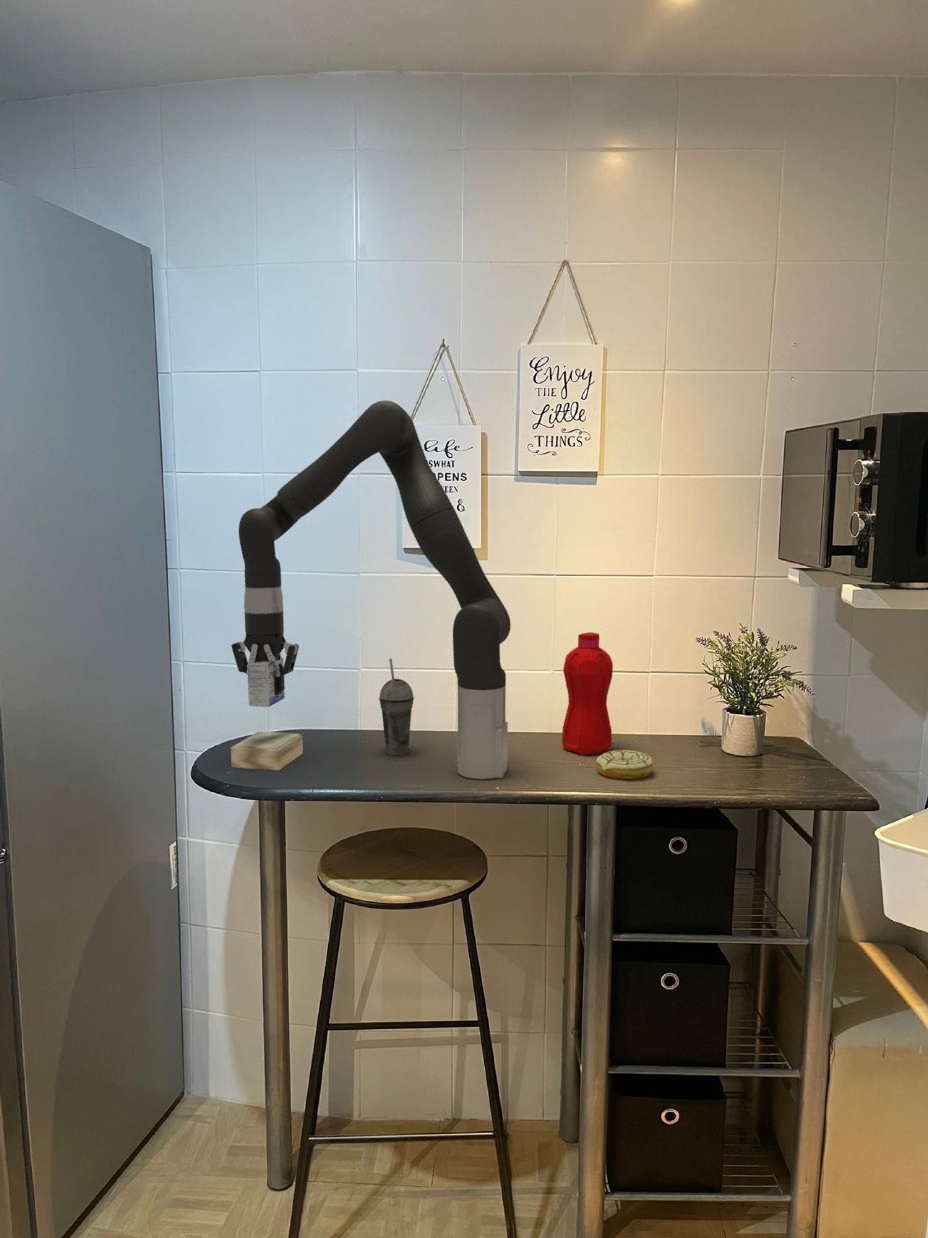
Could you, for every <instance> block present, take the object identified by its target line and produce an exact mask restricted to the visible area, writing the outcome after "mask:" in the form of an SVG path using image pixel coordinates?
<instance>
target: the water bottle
mask: <svg viewBox="0 0 928 1238" xmlns="http://www.w3.org/2000/svg"><path fill="white" fill-rule="evenodd" d="M613 667H614V664H613V660H612V658H611V655H610V654H609V653H608V652H607V651H606V650H604V649H603V648H601V647H600V634H599V633H597V632H592V631H590V632H589V631H588V632H583V633H580V634H578V638H577V647H575V648H573V649H572V650H570V651H569V652H568V653H567V655H566V656H565V659H564V664H563V669H562V671H563V675H564V680H565V686H566V689H567V695H568V696H567V697H568V698H567V699H568V705H567V710H566V713H565V718H564V721H563V725H562V733H561V734H562V735H561V736H562V737H561V744H562V747H563V748H564V749H565V750H567V751H570V752H574V753H577V754H579V755H582V756H583V755H585V756H592V755H596V754H600V753H606V752H609V750H610V749H611V748H612V744H613V743H612V742H613V738H612V736H613V735H612V733H613V731H612V726H611V721H610V716H609V711H608V706H607V705H608V704H607V703H608V694H609V690H610V686H611V682H612V679H613V669H614V668H613Z"/></svg>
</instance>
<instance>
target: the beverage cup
mask: <svg viewBox="0 0 928 1238" xmlns="http://www.w3.org/2000/svg"><path fill="white" fill-rule="evenodd" d="M389 666H390V677H391V679H390V680H388V681H387V682H385V684H384V685H383V686H382V688H381V689H380V692H379V698H378V700H379V706H380V709H381V714H382V723H383V724H382V726H383V736H384V737H383V738H384V746H385V751H386V754H387V755H390V756H403V755H406V754H408V752H409V745H410V735H411V734H410V732H411V723H412V721H411V720H412V709H413V706H414V705H413V704H414V699H415V697H414V692H413V689H412V688H411V686H410V684H409V683H408V682H407V681H405V680H404V679H401V678H395V672H394V667H393V658H389Z"/></svg>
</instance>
